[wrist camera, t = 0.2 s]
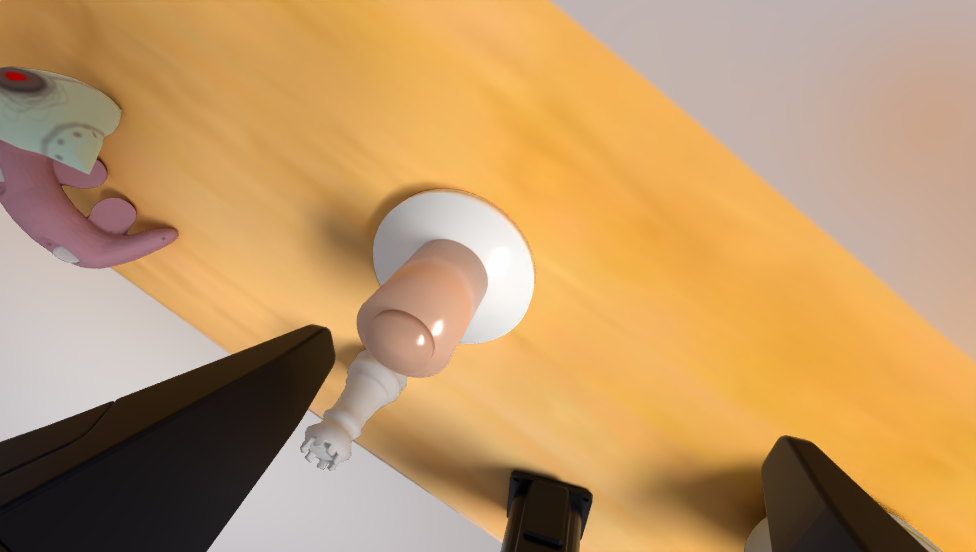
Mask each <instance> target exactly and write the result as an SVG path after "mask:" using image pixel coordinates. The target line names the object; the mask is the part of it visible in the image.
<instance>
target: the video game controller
mask: <svg viewBox="0 0 976 552" xmlns="http://www.w3.org/2000/svg"><path fill="white" fill-rule="evenodd" d="M106 178H107V171H106V168H105V166H104V165H103V164H102V163H101V162H100V161H98V160H97V159H96V161H95V164H94V166H93V168H92V170H91V173H90V175H89V174H86V173H84V172H82V171H79V170H77V169H75V168H73V167H70V166H68V165H66V164H64V163H61V162H59V161H57V160H55V159H52V158H50V157H48V156H45V155H42V154H39V153H36V152H32V151H28V150H24V149H20V148H18V147H16V146H14V145H11V144H9V143H7V142H5V141H3V140H0V202H1V204H2V205H3V206H4V208H5V209H6V211H7V212H8V213H9V215H10V216H11V217H12V219H13V220H14V221H15V222H16V223H17V224H18V225H19V226H20V227H21V228H22V229H23V230H24V231H25V232H26V233H27V234H28V235H29V236H30V237H31V238H32V239H33V240H35V241H36V242H37V243H39V244H40V245H41V246H43V247H44V248H46V249H47V250H49V251H50V252H52V253H53V254H54V255H55V256H56V257H57V258H59V259H61V260H63V261H65V262H69V263H72V264H74V265H77V266H80V267H85V268H98V269H100V268H106V267H111V266H116V265H120V264H124V263H128V262H131V261H133V260H136V259H139V258H141V257H144V256H146V255H148V254H150V253H152V252H154V251H157V250H159V249H161V248H163V247H165V246H167V245H169V244H170V243H172V242H173V241H175V240H176V239H177V237H178V234H179V233H178V231H177V230H175V229H169V228H164V229H155V230H150V231H145V232H140V233H136V234H132V235H127V232H128V229H129V227H130V226H131V225H132V224H133V223H134V221H135V219H136V211H135V209H134V208H133V206H132V205H131V204H129V203H128V202H126V201H124V200H122V199H119V198H107V199H104V200H102V201H100V202H98V203H97V204H96V205H95V206H94V207H93V209H92V211H91V214H90V215H89V216H88V217H85V216H84V215H83V214H82V213H81V212H80V211H79V210H78V209H77V208H76V207H75V206H74V205H73V203H72V202H71V201H70V199H69V198H68V197H67V195H66V194H65V192H64V190H63V189H62V185H68V186H72V187H76V188H82V189H89V188H95V187H98V186H100V185H101V184H103V183H104V182H105V180H106Z"/></svg>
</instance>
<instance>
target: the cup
mask: <svg viewBox="0 0 976 552" xmlns="http://www.w3.org/2000/svg"><path fill="white" fill-rule="evenodd" d="M487 288H488V277H487V272H486V269H485V267H484V265H483V263H482V261H481V260H480V259H479V257H478V256H477V255H476V254H475V253H474V252H473V251H472V250H471V249H469V248H468V247H466V246H465V245H463V244H461V243H459V242H456V241H453V240H448V239H437V240H432V241H429V242H427V243H425V244H423V245H422V246H421V247H420V248H419V249H418V250H417V251H416V252H415V253H414V254H413V255H412V256H411V257H410V258H409V259H408V260H407V261H406V262H405V263H404V264H403V265H402V266H401V267H400V268H399V269H398V270H397V271H396V272H395V273H394V274H393V275H392V276H391V277H390V278H389V279H388V280H387V281H386V282H385V283H384V284H383V285H382V286H381V287H380V288H379V289H378V290H377V291H376V292H375V293H374V294H373V295H372V296H371V297H370V298H369V299H368V300H367V301H366V302H365V303H364V304H363V305H362V306H361V308H360V310H359V312H358V315H357V330H358V334H359V336H360V339H361V341H362V343H363V345H364V346H365V348H366V349H367V350H368V352H369V353H370V354H371V355H372V356H373V357H374V358H375V359H376V360H377V361H378V362H379V363H381V364H382V365H383V366H385V367H387V368H388V369H390V370H392V371H394V372H396V373H399V374H401V375H405V376H409V377H416V378H424V377H430V376H433V375H435V374H438V373H439V372H441V371H442V370H443V369H444V368H445V367H446V366H447V364H448V362H449V361H450V359H451V357H452V355H453V353H454V351H455V349H456V348H457V346H458V344H459V342H460V340H461V338H462V337H463V335H464V333H465V331H466V329H467V327H468V326H469V324H470V322H471V320H472V318H473V316H474V314H475V313H476V311H477V309H478V307H479V305H480V303H481V302H482V300H483V298H484V296H485V294H486V291H487Z"/></svg>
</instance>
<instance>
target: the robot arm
mask: <svg viewBox="0 0 976 552" xmlns="http://www.w3.org/2000/svg"><path fill="white" fill-rule="evenodd" d="M334 363H335V350H334V345H333V340H332V335H331V331H330V330H329V329H328V328H327V327H323V326H319V325H313V324H311V325H307V326H305V327H302V328H300V329H297V330H295V331H292V332H289V333H287V334H284V335H282V336H279V337H276V338H274V339H271V340H269V341H266V342H263V343H261V344H258V345H256V346H253V347H251V348H248V349H245V350H243V351H240V352H238V353H235V354H232V355H230V356H227V357H225V358H222V359H220V360H217V361H215V362H212V363H209V364H207V365H204V366H201V367H199V368H196V369H194V370H191V371H189V372H186V373H183V374H181V375H178V376H176V377H173V378H171V379H168V380H165V381H163V382H160V383H157V384H155V385H152V386H150V387H147V388H145V389H142V390H139V391H137V392H134V393H132V394H129V395H127V396H124V397H121V398H119V399H117V400H116V401H115V402H114V401H111V402H108V403H106V404H103V405H100V406H98V407H95V408H93V409H90V410H88V411H85V412H83V413H80V414H77V415H74V416H72V417H69V418H66V419H64V420H61V421H58V422H56V423H53V424H51V425H48V426H45V427H42V428H39V429H37V430H33V431H31V432H27V433H25V434H22V435H19V436H16V437H14V438H10V439H7V440H4V441H2V442H0V552H207V550H208V549H209V547H210V546H211V545H212V543H213V542H214V540H215V539H216V538H217V536H218V535H219V534H220V532H221V531H222V530H223V528H224V527H225V525H226V524H227V523H228V521H229V520H230V518H231V517H232V516H233V514H234V513H235V512H236V510H237V509H238V508H239V506H240V505H241V503H242V502H243V501H244V499H245V498H246V496H247V495H248V494H249V492H250V491H251V490H252V488H253V487H254V485H255V484H256V483H257V481H258V480H259V479H260V477H261V476H262V474H263V473H264V472H265V470H266V469H267V468H268V466H269V465H270V464H271V462H272V461H273V459H274V458H275V457H276V455H277V454H278V453H279V451H280V450H281V448H282V447H283V446H284V444H285V443H286V441H287V440H288V439H289V437H290V436H291V435H292V433H293V431H294V430H295V429H296V427H297V426H298V424H299V423H300V421H301V420H302V418H303V416H304V415H305V413H306V411H307V410H308V408H309V406H310V405H311V403H312V401H313V400H314V398H315V396H316V394H317V393H318V391H319V389H320V388H321V386H322V384H323V383H324V381H325V379H326V378H327V376H328V374H329V372H330V371H331V369H332V367H333V365H334ZM761 479H762V486H763V493H764V500H765V507H766V514H767V521H768V528H769V535H770V542H771V549H772V552H929V551H928V550H927V549H926V548H925V547H924V546H923V545H922V544H921V543H919V542H918V541H917V540H916V539H915V538H914V537H913V536H912V535H911V534H910V533H909V532H908V531H907V530H906V529H905V528H903V527H902V526H901V525H900V524H899V523H898V522H897V521H896V520H895V519H894V518H893V517H892V516H891V515H890V514H889V513H887V512H886V511H885V510H884V509H883V508H882V507H881V506H880V505H879V504H878V503H877V502H876V501H875V500H874V499H873V498H872V497H870V496H869V495H868V494H867V493H866V492H865V491H864V490H863V489H862V488H861V487H860V486H859V485H858V484H857V483H856V482H854V481H853V480H852V479H851V478H850V477H849V476H848V475H847V474H846V473H845V472H844V471H843V470H842V469H841V468H840V467H838V466H837V465H836V464H835V463H834V462H833V461H832V460H831V459H830V458H829V457H828V456H827V455H826V454H825V453H824V452H822V451H821V450H820V449H819V448H818V447H817V446H816V445H815V444H814V443H812V442H810V441H808V440H805V439H800V438H796V437H792V436H787V435H784V436H781V437H780V438H779V439H778V440H777V442H776V443H775V445H774V446H773V448H772V450H771V451H770V453H769V454H768V456H767V458H766V459H765V461H764V463H763V465H762V469H761ZM592 499H593V495H592V494H591V493H590V492H588V491H585V490H582V489H578V488H574V487H571V486H567V485H564V484H560V483H557V482H553V481H550V480H546V479H543V478H539V477H536V476H532V475H529V474H525V473H521V472H518V471H513V472H512V473H511V477H510V486H509V497H508V507H507V518H508V522H507V527H506V531H505V535H504V539H503V544H502V548H501V552H579V548H580V540H581V539H582V536H583V532H584V529H585V525H586V522H587V518H588V515H589V511H590V508H591V504H592Z"/></svg>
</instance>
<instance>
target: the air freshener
mask: <svg viewBox="0 0 976 552" xmlns="http://www.w3.org/2000/svg"><path fill="white" fill-rule="evenodd" d="M887 513H888V512H887ZM889 514H890V513H889ZM890 515H891V516H892V517H893V518H894V519H895V520H896V521H897V522H898V523H899V524H900V525H901V526H902V527H903V528H905V529H906V530H907V531H908V532H909V533H910V534H911V535H912V536H913V537H914V538H915V539H916V540H917V541H918V542H919V543H921V544H922V545H923V546H924V547H925V548H926V549H927V550H928V551H929V552H942V551H941V550H940V549H939V548H938V547H937V546H936V545H935V544H933V543H932V542H931V541H930V540H928V539H927V538H926V537H925V536H924V535H922V534H921V533H920V532H918V531H917V530H916V529H914V528H913V527H911V526H910V525H909V524H907V523H906V522H904V521H902V520H901V519H899V518H898V517H896V516H894V515H892V514H890ZM744 552H772V549H771V542H770V535H769V528H768V521H767V517H766V518H764V519H763V520H762V521H760V522H759V523H758V524H757V525H756V527H755V528H754V529H753V530H752V532H751V534H750V535H749V537H748V539H747V541H746V544H745V549H744Z"/></svg>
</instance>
